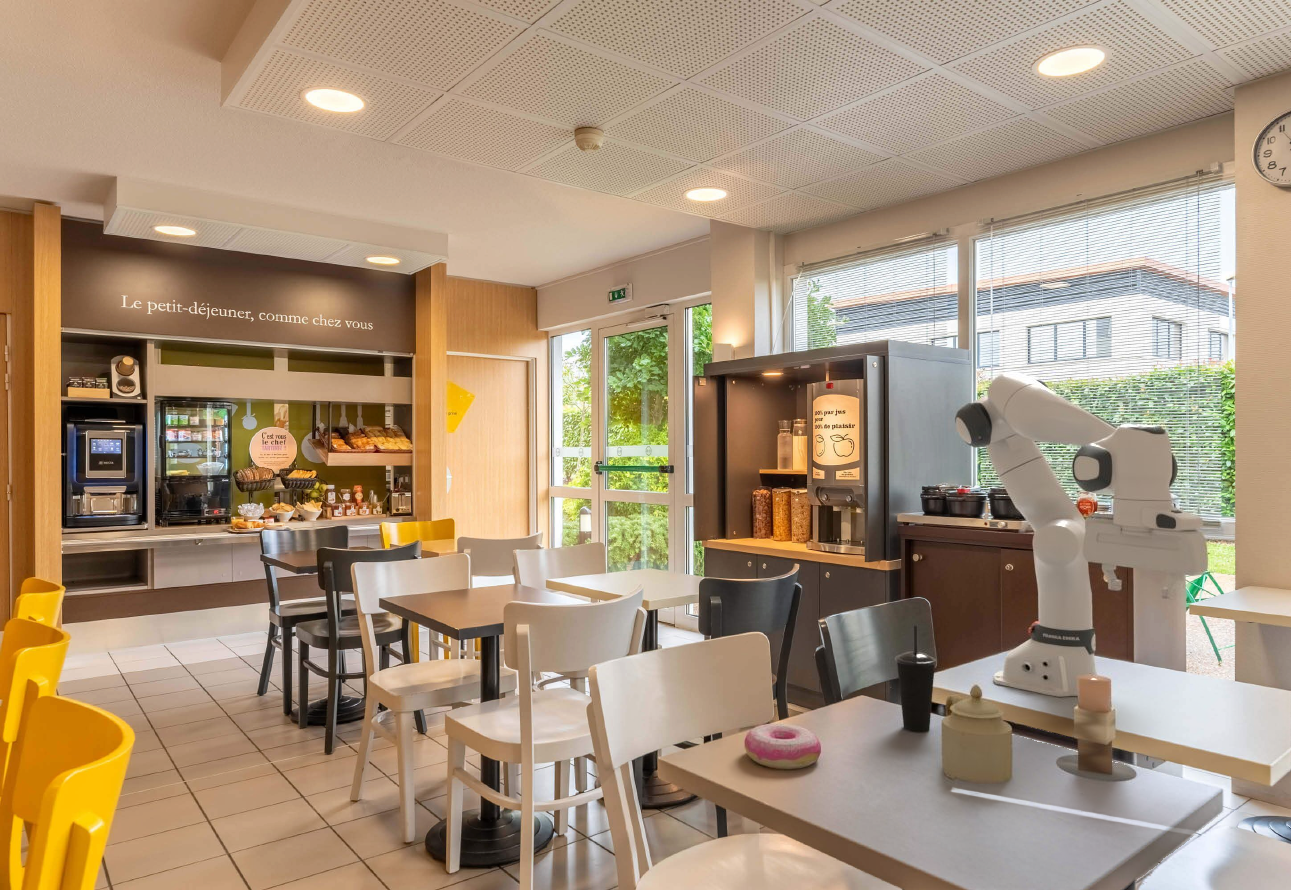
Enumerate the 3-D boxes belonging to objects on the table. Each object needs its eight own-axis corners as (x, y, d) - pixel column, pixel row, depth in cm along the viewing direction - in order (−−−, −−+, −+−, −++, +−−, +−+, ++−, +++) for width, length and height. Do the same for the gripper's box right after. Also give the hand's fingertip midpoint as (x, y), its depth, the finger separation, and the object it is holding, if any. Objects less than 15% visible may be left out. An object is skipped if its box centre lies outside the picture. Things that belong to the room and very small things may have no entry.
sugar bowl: (910, 762, 144) (909, 676, 145) (952, 751, 150) (951, 667, 150) (983, 792, 132) (982, 697, 132) (1027, 778, 137) (1026, 687, 137)
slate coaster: (1047, 772, 139) (1047, 769, 139) (1065, 753, 148) (1065, 749, 148) (1129, 790, 132) (1129, 786, 132) (1142, 768, 141) (1142, 765, 141)
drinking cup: (896, 732, 160) (894, 628, 160) (896, 720, 167) (895, 621, 168) (937, 736, 158) (936, 631, 158) (936, 723, 165) (935, 623, 166)
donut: (779, 780, 137) (778, 749, 138) (728, 756, 149) (728, 728, 149) (836, 763, 145) (836, 734, 145) (784, 741, 156) (784, 715, 156)
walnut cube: (1078, 769, 139) (1077, 739, 139) (1079, 759, 143) (1078, 730, 144) (1112, 774, 137) (1111, 744, 137) (1112, 765, 141) (1111, 735, 141)
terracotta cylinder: (1074, 708, 140) (1074, 678, 140) (1081, 701, 144) (1081, 672, 144) (1108, 714, 137) (1107, 683, 137) (1114, 707, 141) (1113, 677, 141)
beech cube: (1074, 737, 140) (1073, 708, 140) (1083, 730, 144) (1083, 701, 144) (1106, 744, 137) (1106, 714, 137) (1115, 737, 140) (1115, 707, 140)
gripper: (1075, 511, 154) (1074, 586, 154) (1192, 521, 136) (1191, 605, 136) (1096, 510, 157) (1095, 583, 157) (1213, 519, 139) (1212, 602, 139)
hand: (1141, 594), depth 146 cm, fingers open, 8 cm apart
